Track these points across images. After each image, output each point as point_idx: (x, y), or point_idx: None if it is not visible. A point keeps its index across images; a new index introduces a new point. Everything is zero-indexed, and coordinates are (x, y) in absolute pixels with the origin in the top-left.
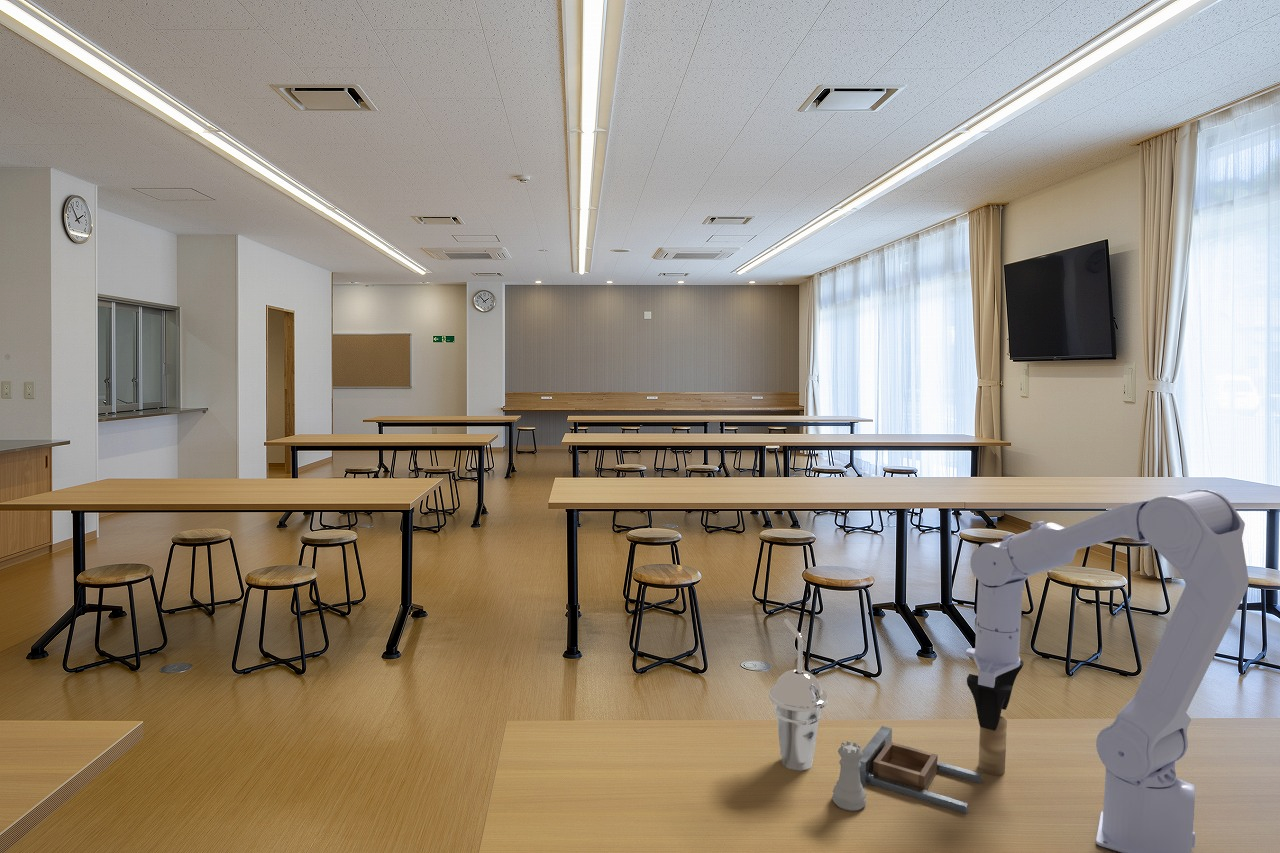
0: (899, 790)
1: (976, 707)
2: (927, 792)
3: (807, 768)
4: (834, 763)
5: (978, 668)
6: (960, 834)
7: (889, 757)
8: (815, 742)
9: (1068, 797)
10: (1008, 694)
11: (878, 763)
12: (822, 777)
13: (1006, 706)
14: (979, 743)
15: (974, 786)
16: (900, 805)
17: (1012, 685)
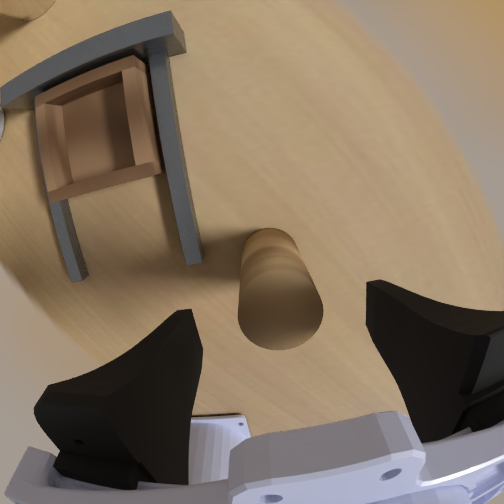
0: None
1: (139, 342)
2: (57, 211)
3: (28, 20)
4: (67, 24)
5: (57, 496)
6: (36, 287)
7: (113, 82)
8: (15, 5)
9: (262, 377)
10: (387, 361)
11: (36, 107)
12: (21, 50)
13: (370, 332)
14: (256, 250)
15: (171, 254)
16: (26, 184)
17: (402, 394)
